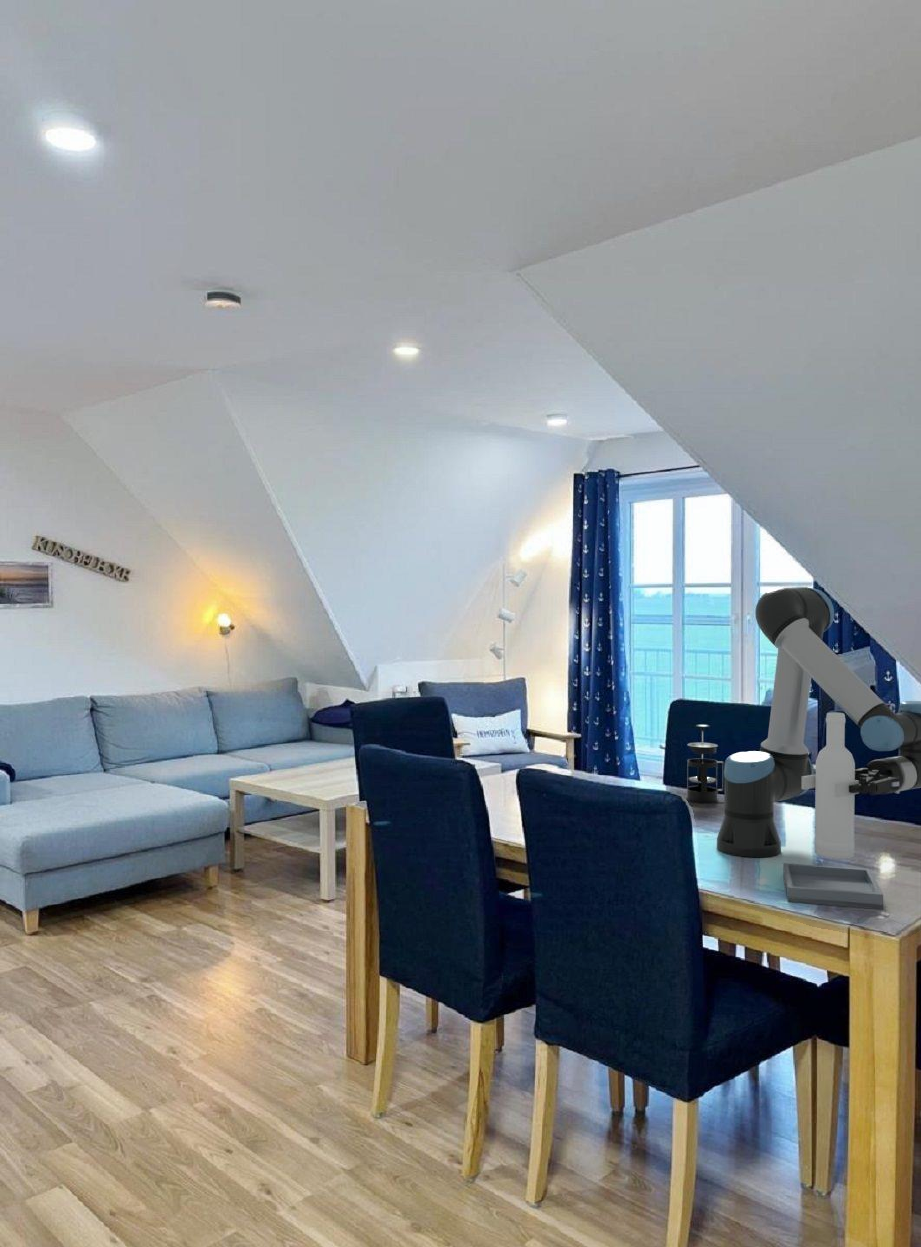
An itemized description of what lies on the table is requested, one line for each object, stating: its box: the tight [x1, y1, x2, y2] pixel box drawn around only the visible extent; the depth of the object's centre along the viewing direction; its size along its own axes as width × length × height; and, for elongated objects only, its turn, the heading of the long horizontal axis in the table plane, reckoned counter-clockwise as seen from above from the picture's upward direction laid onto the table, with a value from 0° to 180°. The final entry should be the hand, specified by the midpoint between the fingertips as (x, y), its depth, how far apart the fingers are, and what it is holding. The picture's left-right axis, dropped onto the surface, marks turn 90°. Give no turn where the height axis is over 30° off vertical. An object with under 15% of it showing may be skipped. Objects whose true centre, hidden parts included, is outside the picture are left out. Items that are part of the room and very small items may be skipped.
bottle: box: [813, 711, 856, 860], centre depth 200 cm, size 8×8×30 cm
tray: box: [782, 862, 884, 910], centre depth 201 cm, size 18×18×3 cm
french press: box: [686, 724, 725, 804], centre depth 289 cm, size 12×9×23 cm
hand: (819, 786), depth 198 cm, fingers closed on bottle, 8 cm apart
